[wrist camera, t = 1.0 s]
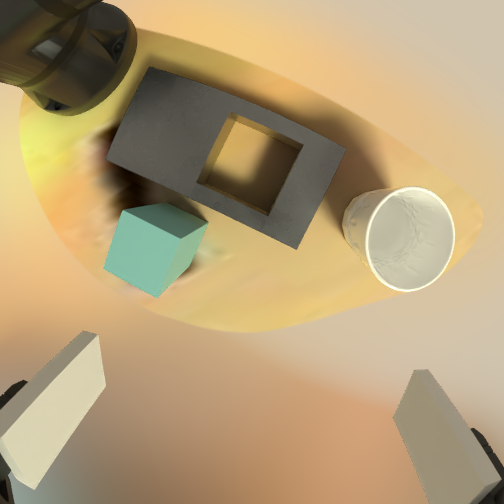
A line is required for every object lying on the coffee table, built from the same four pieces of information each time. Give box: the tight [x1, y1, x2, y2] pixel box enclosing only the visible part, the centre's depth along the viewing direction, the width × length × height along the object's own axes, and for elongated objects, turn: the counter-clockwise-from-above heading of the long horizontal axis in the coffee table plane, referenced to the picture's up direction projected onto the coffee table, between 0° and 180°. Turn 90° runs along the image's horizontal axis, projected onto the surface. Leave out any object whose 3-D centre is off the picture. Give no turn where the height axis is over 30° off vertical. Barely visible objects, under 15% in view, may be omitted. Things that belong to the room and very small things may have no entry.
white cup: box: [342, 186, 455, 291], centre depth 25 cm, size 8×8×10 cm
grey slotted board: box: [105, 67, 346, 250], centre depth 28 cm, size 20×10×4 cm, turn 64°
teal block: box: [103, 202, 208, 298], centre depth 27 cm, size 5×5×10 cm
